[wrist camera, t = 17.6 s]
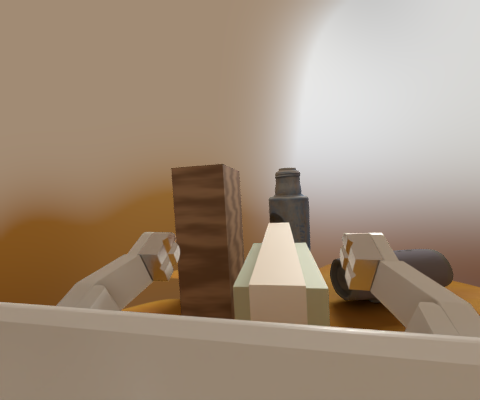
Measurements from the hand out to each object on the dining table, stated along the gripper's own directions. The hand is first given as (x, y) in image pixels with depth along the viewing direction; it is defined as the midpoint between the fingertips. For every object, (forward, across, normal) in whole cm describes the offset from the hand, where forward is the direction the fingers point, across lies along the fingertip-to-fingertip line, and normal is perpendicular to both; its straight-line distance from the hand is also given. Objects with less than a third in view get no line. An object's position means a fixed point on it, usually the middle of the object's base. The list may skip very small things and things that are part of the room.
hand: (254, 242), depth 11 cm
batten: (+10, -1, +14) cm, 17 cm away
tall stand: (+21, +13, +38) cm, 46 cm away
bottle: (+29, -4, +43) cm, 52 cm away
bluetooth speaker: (+26, -24, +40) cm, 53 cm away
